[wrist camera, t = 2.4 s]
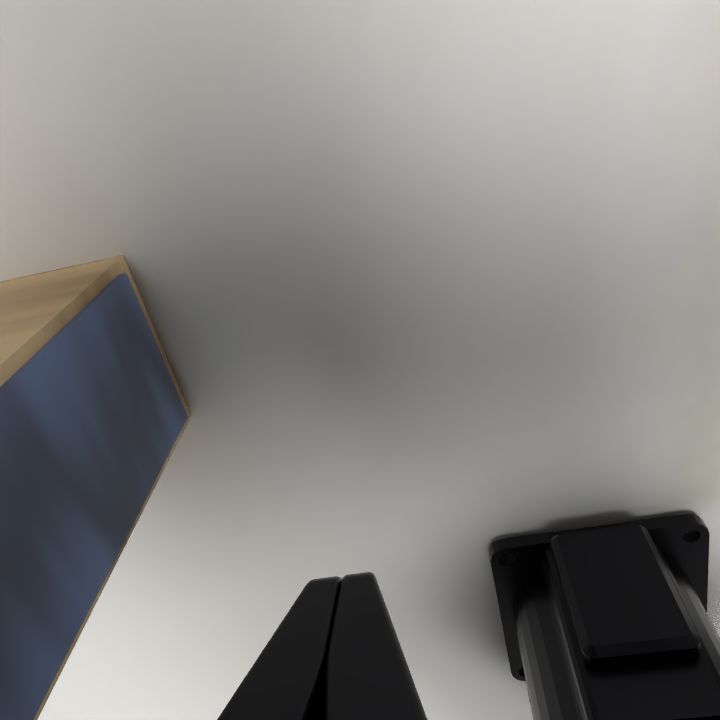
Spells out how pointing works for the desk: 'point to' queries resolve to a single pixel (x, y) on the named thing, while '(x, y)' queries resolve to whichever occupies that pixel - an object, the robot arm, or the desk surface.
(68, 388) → the oak block
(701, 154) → the desk surface
